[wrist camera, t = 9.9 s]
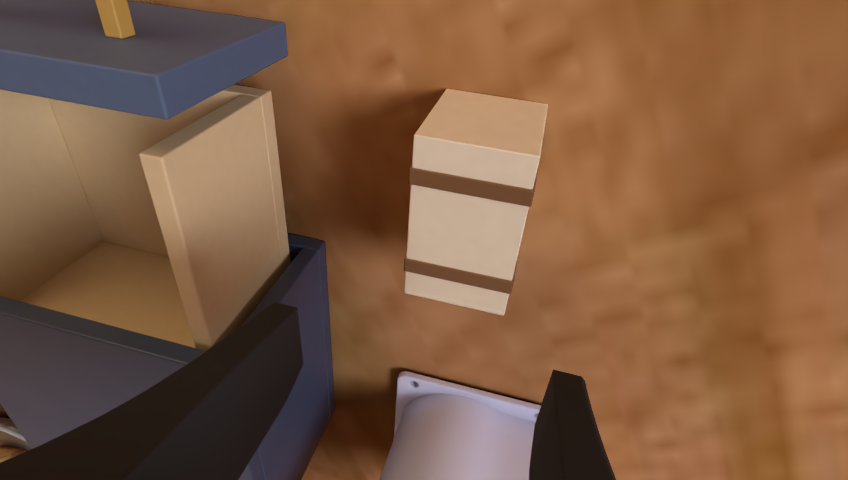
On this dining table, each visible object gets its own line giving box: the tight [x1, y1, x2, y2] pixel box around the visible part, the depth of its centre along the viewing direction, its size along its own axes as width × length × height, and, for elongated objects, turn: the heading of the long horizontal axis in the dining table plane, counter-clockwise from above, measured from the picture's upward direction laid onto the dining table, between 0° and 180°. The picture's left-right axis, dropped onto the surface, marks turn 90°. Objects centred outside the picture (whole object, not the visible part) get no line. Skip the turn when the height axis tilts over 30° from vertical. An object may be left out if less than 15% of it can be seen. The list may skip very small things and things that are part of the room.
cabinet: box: [0, 233, 335, 480], centre depth 26 cm, size 14×14×9 cm
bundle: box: [404, 89, 548, 315], centre depth 18 cm, size 4×6×5 cm, turn 176°
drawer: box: [0, 0, 291, 351], centre depth 18 cm, size 17×12×7 cm
